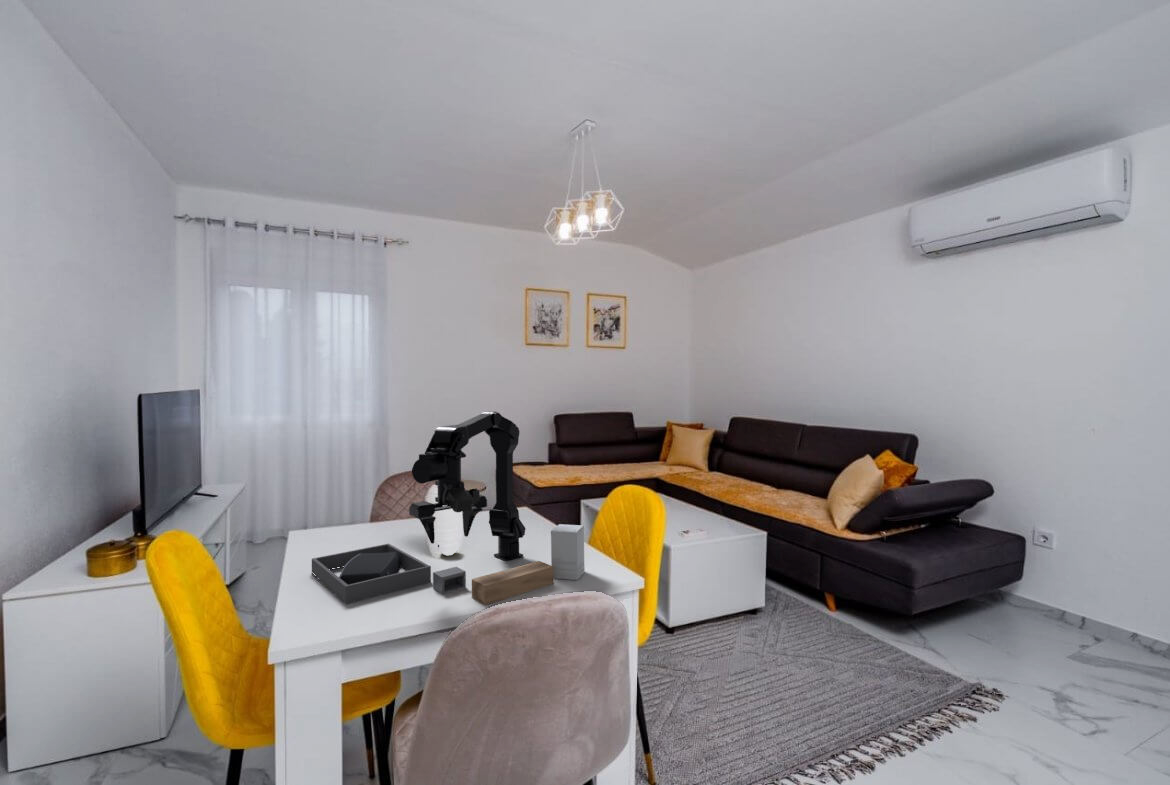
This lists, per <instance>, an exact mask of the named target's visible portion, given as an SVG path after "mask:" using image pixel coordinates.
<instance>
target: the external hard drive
mask: <svg viewBox="0 0 1170 785" xmlns="http://www.w3.org/2000/svg"><path fill="white" fill-rule="evenodd" d="M399 565H400V562H399V558H398V556H397V554H396V552H388V553H365V554H358V555H356V556H355V557H353V558H352V559H351V560H350V561H349V562H348V563H347V564H346V565H345V566H344V568H341V569H342V570H341V572H340V573H339V575H338V577H339V578H340V579H341V580H343V581H344V582H345V583H346V584H348V585H349V584H354V583H358V582H362V581H366V580H371V579H375V578H379V577H383V576H388V575H392V574H396V573H398V572H397V571H398V570H399V567H400V566H399Z"/></svg>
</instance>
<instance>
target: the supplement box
mask: <svg viewBox="0 0 1170 785" xmlns="http://www.w3.org/2000/svg"><path fill="white" fill-rule="evenodd" d="M550 546H551V547H550V548H551V549H550V552H551V554H550V555H551V556H550V558H551V561H550V562H551V564H550V565H551V566H553V579H559V580H561V579H562V580H573V581H578V580H579V579H580V578H581V577H582V576H583V574H584V572H585V570H586V569H585V528H584V525H582V524H581V525H579V524H578V525H577V524H562V523H559V524H558V525H556V526H555V527H554V528H553V529H551V530H550Z"/></svg>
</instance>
